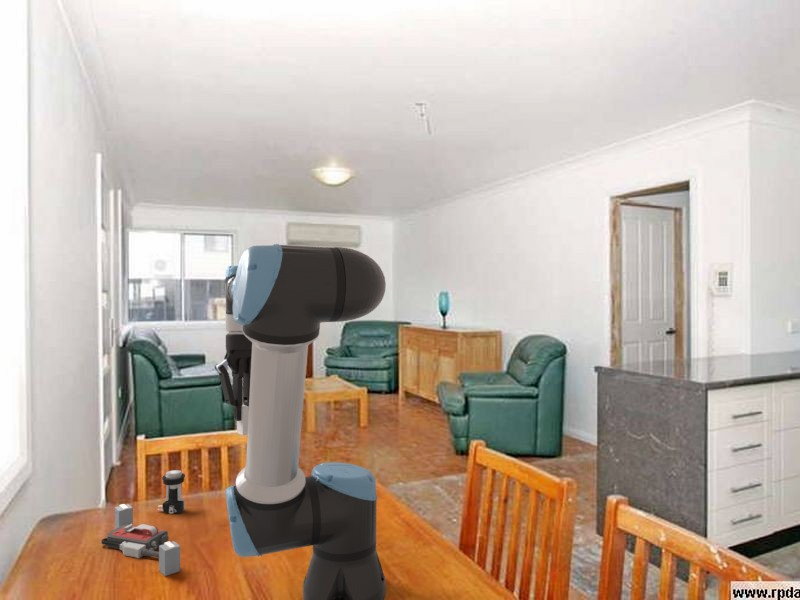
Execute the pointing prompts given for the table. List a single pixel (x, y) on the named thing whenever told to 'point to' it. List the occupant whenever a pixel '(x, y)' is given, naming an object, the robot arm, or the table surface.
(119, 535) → the walkie-talkie
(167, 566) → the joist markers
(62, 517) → the table surface
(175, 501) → the push button
